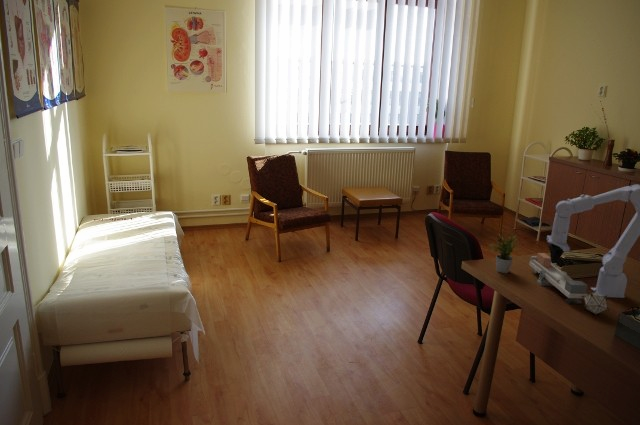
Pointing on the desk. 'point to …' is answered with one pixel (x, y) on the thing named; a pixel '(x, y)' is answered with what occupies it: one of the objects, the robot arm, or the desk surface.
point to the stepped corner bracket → (547, 283)
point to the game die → (595, 302)
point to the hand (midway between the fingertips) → (554, 262)
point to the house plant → (504, 254)
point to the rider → (544, 260)
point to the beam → (560, 280)
